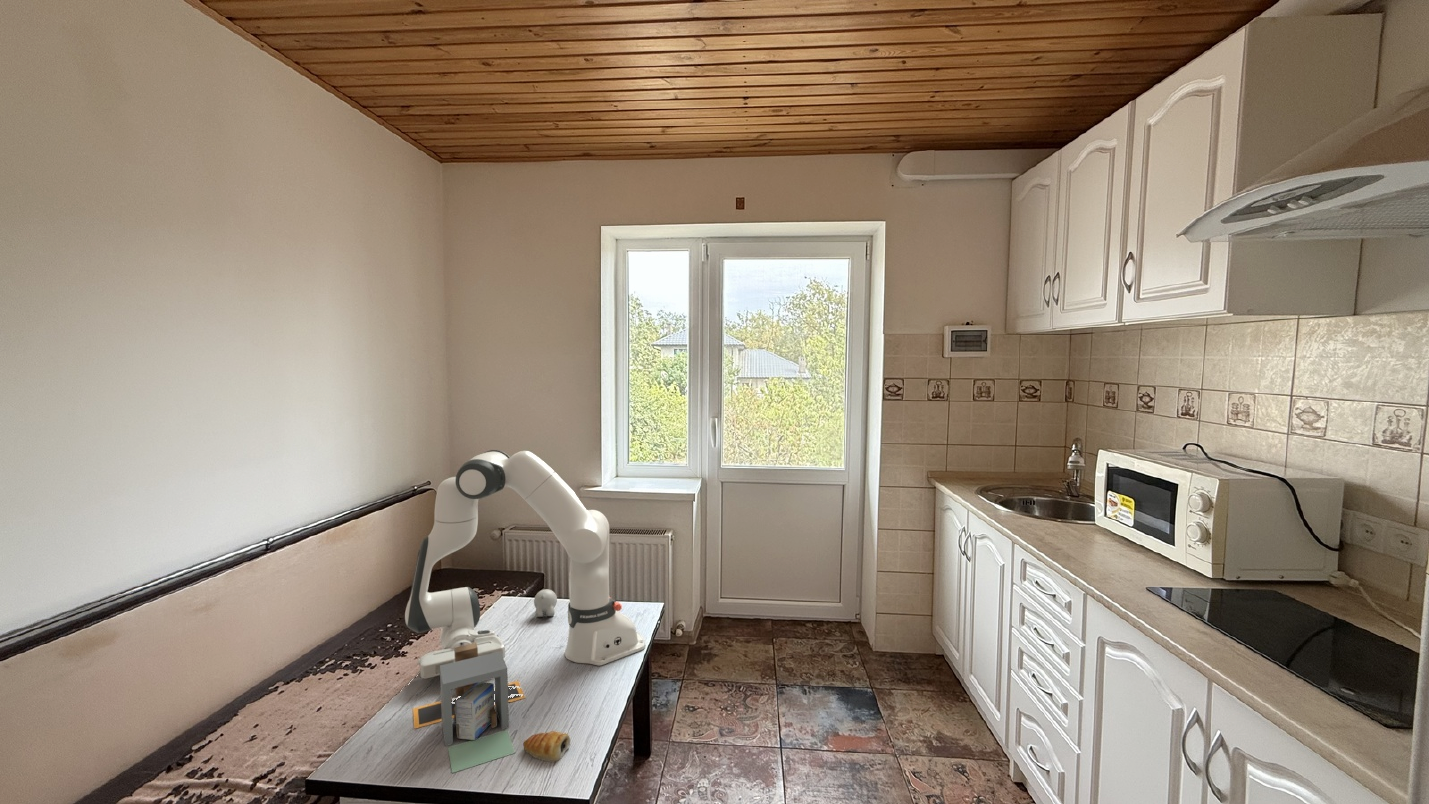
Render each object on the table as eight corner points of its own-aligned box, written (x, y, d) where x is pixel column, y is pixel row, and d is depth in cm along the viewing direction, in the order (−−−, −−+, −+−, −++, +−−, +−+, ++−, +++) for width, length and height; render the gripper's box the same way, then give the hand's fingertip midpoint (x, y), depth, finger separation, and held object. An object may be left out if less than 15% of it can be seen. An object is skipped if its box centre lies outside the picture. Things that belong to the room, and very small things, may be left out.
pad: (507, 730, 128) (507, 729, 128) (515, 753, 120) (515, 752, 120) (448, 747, 122) (448, 747, 122) (452, 773, 114) (452, 772, 114)
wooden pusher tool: (483, 683, 146) (482, 641, 145) (496, 726, 128) (495, 678, 127) (449, 692, 142) (447, 649, 141) (457, 738, 124) (455, 688, 124)
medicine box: (474, 741, 123) (473, 702, 123) (456, 739, 124) (454, 700, 124) (495, 719, 131) (494, 682, 131) (478, 717, 132) (476, 680, 132)
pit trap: (518, 681, 148) (518, 680, 148) (525, 698, 140) (525, 697, 140) (413, 708, 136) (413, 708, 136) (414, 729, 128) (414, 728, 128)
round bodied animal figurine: (558, 615, 194) (559, 589, 197) (555, 616, 183) (556, 588, 186) (536, 617, 193) (537, 590, 196) (531, 617, 182) (533, 589, 185)
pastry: (516, 758, 118) (516, 740, 118) (533, 738, 125) (533, 721, 125) (558, 765, 116) (558, 746, 116) (573, 744, 123) (573, 726, 123)
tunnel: (502, 706, 137) (500, 651, 136) (509, 726, 129) (507, 668, 128) (441, 723, 130) (439, 665, 130) (445, 745, 122) (442, 684, 122)
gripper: (417, 646, 150) (419, 669, 138) (499, 628, 160) (508, 648, 148) (418, 669, 151) (420, 695, 139) (500, 650, 161) (509, 672, 149)
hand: (466, 671), depth 144 cm, fingers closed, pressing on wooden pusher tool
